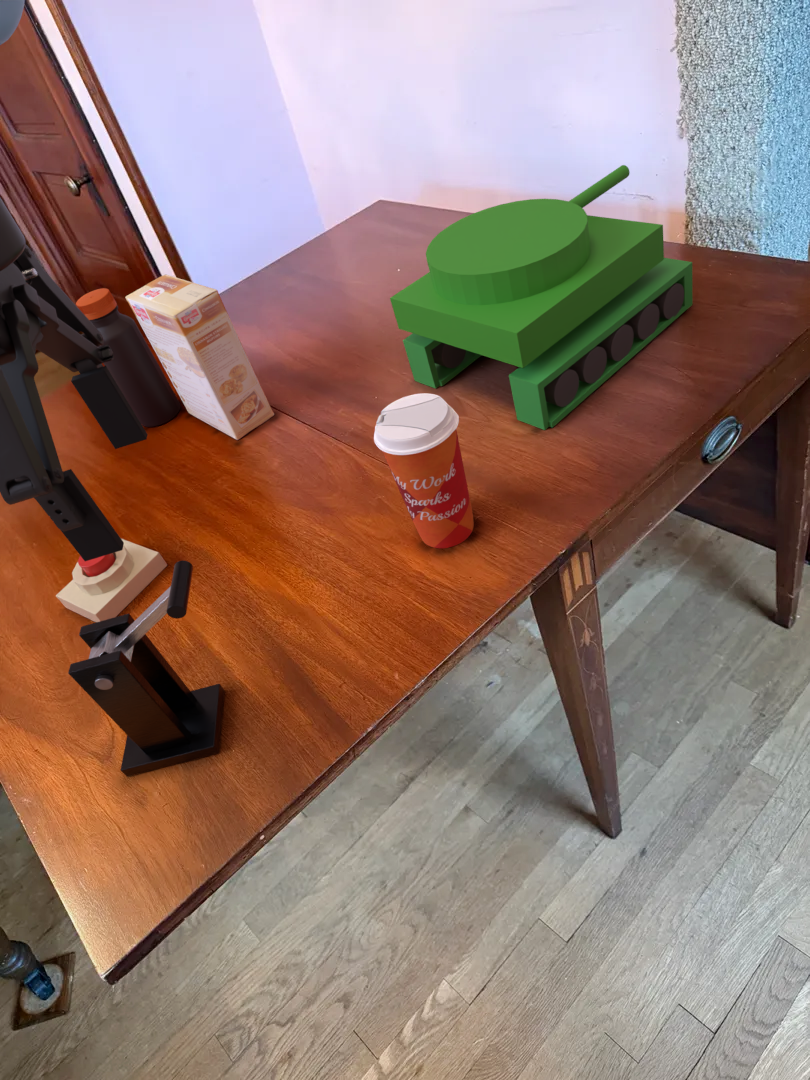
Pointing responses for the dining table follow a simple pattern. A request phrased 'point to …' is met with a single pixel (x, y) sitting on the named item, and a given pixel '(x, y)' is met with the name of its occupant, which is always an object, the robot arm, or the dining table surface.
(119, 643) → the switch lever
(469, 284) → the tank
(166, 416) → the bottle
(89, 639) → the switch bracket
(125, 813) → the dining table surface
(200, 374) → the coffeecake box
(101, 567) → the red button
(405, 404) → the coffee cup
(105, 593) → the button housing
